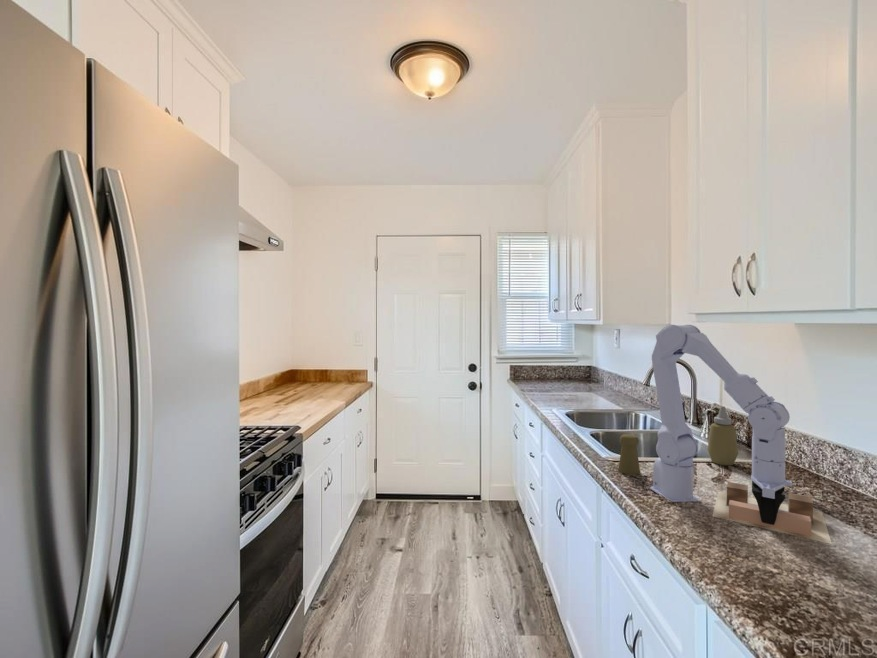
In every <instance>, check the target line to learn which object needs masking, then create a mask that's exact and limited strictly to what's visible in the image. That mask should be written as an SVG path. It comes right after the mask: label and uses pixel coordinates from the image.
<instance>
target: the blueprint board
mask: <svg viewBox="0 0 877 658" xmlns="http://www.w3.org/2000/svg"><path fill="white" fill-rule="evenodd" d="M748 491H749V485H747V484H743V483H737V482H733V481H732V482H731V481H727V485H726V492H724V491H718V493H717V497H716V500H715V504H714V508H713V512H712V517H713V518H716V519H717V518H718V519H722V520H725V521H726V520H727V521H730V522H736V523H738V524H739V523H740V524H743V525H748V526H752V527H757V528H760V529H761V528H762V529H764V530H770V531H773V532H777V533H782V534H786V535H789V536H793V537H800V538H803V539H808V540H812V541H815V542H816V541H817V542H821V543H825V544H829V545H832V544H833V543H832V540H831V537H830V534H829V530H828V527H827V524H826V521H825V517H824V514H823V511H818V510H814V501H813V499H812V497H810V496H807V495H801V494H797V493H792V492H791V493H790V492H789V493H788V495H787V496H788V502H787V503H788V504H785V503H782V504H781V505H780V507H779V510H781V511H786V512H790V513H795V514H800V515H805V516H810V519H811V536H807V535H803V534H799V533H794V532H790V531H786V530H781V529H777V528H773V527H768V526H764V525H759V524H755V523H751V522H746V521H742V520H738V519H733V518H729V501H730V500H733V501H738V502H742V503H747V504H752V505H757V506H758V503H757V501H756V498H755V497H749V495H748V494H749V492H748Z"/></svg>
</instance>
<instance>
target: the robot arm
mask: <svg viewBox="0 0 877 658" xmlns="http://www.w3.org/2000/svg"><path fill="white" fill-rule="evenodd" d="M655 339H656V342H655V345H654V347H653V348H654V349H653V352H652V354H651V362H652V369H653V376H654V382H655V388H656V396H657V402H658V406H659V407H658V408H659V414H660V421H661V426H660V428H659V430H658V431H657V443H656V445H655V451H656V454H657V456H658V457H657V459H655V461H654V463H653V465H652V466H653V467H652V470H653V471H652V472H653V475H652V477H653V479H652V482H653V483H652V486H650V487H649V489H650V490H651V491H653V492H655V493H656V494H657V495H661V496H662V497H664V498H665V499H667V500H668V501H669V502H672V503H673V502H675V503H677V502H697V501H699V502H700V501H702V499H701V498H699V497H697V496H696V495H694V457H695V456H696V455H697V454H698V452H699V445H698V442H697V441H696V438H695V437H694V435H693V431H692V428H691V427H689V425H688V424H687V423H686V418H685V413H684V412H685V411H684V406H683V405H684V404H683V400H682V392H681V387H680V381H679V376H678V375H679V374H678V369H677V362H678V361H679V360H680V358H681V357H683V356H684V355H685V354H688V355H692V356H696V357H698V358H699V359H701V361H703V363H704V364H705V365H706V366H708V367H709V369H711V370H712V371H713V372H714V373H715V374H716V375H717V376H718V377H719V378H720V379H721V380H722V381H723V382H724V383H723V386H724V387H723V389H724V391H725V392H726V393H727V394H728V395H729V396H730V397H731V398H732V399H733V401H734V402H735V403H736V404H737V405H738V406H739V407H740V408H741V409H742V411H744V412H745V413H746V414H748V415H747V416H746V417H747V421H748V423H749V424H750V426H751V427H752V436H751V475H750V480H751V485H752V484H753V486H754V487H752V486H751V492H752V495H753V496H754V497H753V498H755V499H756V501H757V503H758V507H759V512H760V517H761V521H762V523H766V524H771V525H774V524H775V521H776V518H777V513H778V510H779V507H780V505H781V504H783V502H784V501H785V499H786V494H784V491H785V487H790V488H792V487H793V481H792V480H789V479H788V480H787V479H786V445H787V443H786V427H785V426H786V425H787V424H788V423H789V421H790V418H791V417H790V413H789V411H788V409H787V408H786V406H785V404H783V403H781V402H778V401H775V398H774V397H773V396H769V395H768V394H767V393H766V392H765V391H764V390H763V389H762V388H761V387H760V386H759V385H758V384H757V383H758V382H759V381H758V380H757V379H756V377H753V376H752V377H751V376H750V375H748V374H744V373H739V372H737V371H736V369H735V368H734V367H733V366H732V365H731V364H730V363H729V361H728V359H726V358H725V357H724V355H722V353H721V352H720V351H719V350H718V349H717V348H716V346H714V345H713V343H712V341H710V339H709V338H708V336H707V335H706V334H705V333H703V332H702V331H701V330H700V328H698V327H697V326H696V325H693V324H685V325H684V324H683V325H677V324H676V325H675V324H669V325H666V326H663V327H662V329H661V330H660V331H659V332H658V333H657V334H656V335H655ZM752 481H753V482H752Z"/></svg>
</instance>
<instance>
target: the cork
mask: <svg viewBox="0 0 877 658" xmlns="http://www.w3.org/2000/svg"><path fill="white" fill-rule="evenodd" d="M619 442H620V445H621V448H620V449H621V450H620V456H619V462H618V468H617V469H618V472H619V473H621V474H625V475H628V476H629V475H630V476H636V475H637V476H638V475H640V474H641V468H640V462H639V456H638V454H639V453H638V446H639V438H638V437H637V436H636V435H634V434H629V433H627V434H626V433H624V434H622V435H620V437H619Z"/></svg>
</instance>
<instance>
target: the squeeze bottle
mask: <svg viewBox="0 0 877 658" xmlns="http://www.w3.org/2000/svg"><path fill="white" fill-rule="evenodd" d="M732 421H733V420H732V418H730V417H728V414H727V409H726V407H725V406H723V405H722V406H720V407H719V410H718V414H717V416H714V417H713V423H711V424H710V426H709V435H708V443H707V451H708V456H709V458H710V460H711V462H712V463H714V464H717V465H720V466H734V464H735V462H736V460H737V458H738V455H739V450H738V440H737V431H736V427H735V426H734V425H732V424H733V423H732Z"/></svg>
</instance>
